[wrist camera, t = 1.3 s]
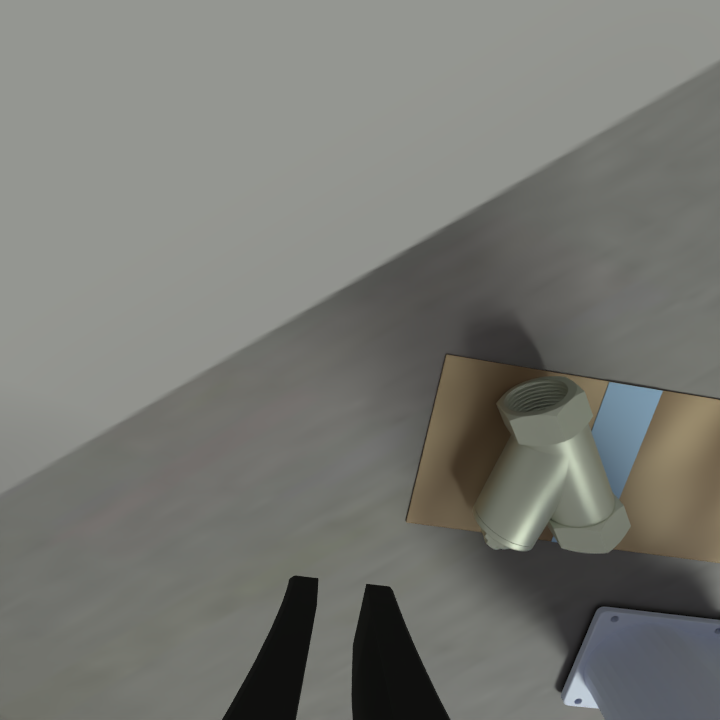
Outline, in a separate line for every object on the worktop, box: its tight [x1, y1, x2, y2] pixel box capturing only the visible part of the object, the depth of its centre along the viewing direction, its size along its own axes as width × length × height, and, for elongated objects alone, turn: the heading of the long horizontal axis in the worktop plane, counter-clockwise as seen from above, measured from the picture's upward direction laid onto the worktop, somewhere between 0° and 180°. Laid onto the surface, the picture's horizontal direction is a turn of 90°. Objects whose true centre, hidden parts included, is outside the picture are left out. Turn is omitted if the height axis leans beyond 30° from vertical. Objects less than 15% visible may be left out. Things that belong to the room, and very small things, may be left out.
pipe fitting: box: [473, 376, 631, 554], centre depth 18 cm, size 8×4×7 cm
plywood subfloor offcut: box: [406, 354, 720, 563], centre depth 21 cm, size 20×10×1 cm, turn 80°
